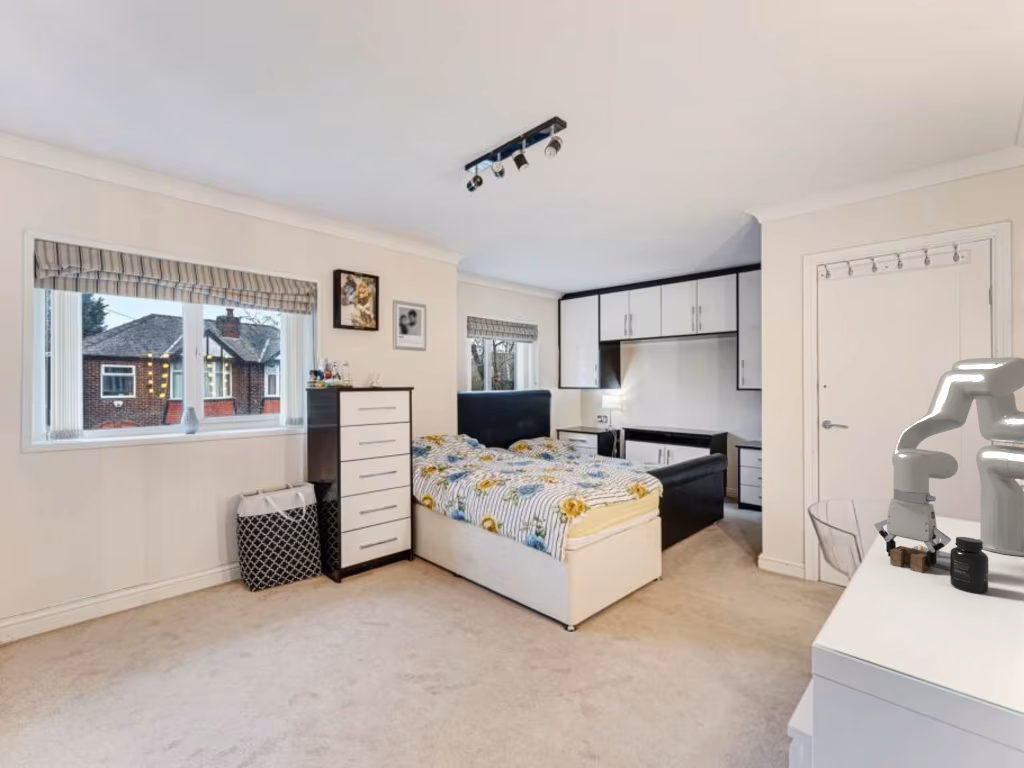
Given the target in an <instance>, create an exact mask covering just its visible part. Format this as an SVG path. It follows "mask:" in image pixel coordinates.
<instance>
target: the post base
mask: <svg viewBox="0 0 1024 768" xmlns="http://www.w3.org/2000/svg"><path fill="white" fill-rule="evenodd" d="M933 541H934V542H935V544H938V543H939V542H940V541H941V539H940V538H939V537H938V536H937V538H936V539H935V540H933ZM912 548H913V549H917V550H921V551H926V552H927V551H929V549H928V548H927V547H925V546H923V545H921V544H920V545H915V546H914V547H912ZM932 567H935V568H939V569H942V570H947V571H950V552H946V551H942V550H940V549H939V550H937V561H936V564H934V565H933V566H932Z"/></svg>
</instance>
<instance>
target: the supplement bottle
mask: <svg viewBox="0 0 1024 768" xmlns="http://www.w3.org/2000/svg"><path fill="white" fill-rule="evenodd" d="M978 539H979V538H978ZM978 539H977V538H973V537H967V536H956V537H955V542H954V544H955V547H953V548H952V549H950V552H949V553H950V570H949V572H950V576H949V577H950V580H949V581H950V584H951V586H952V587H953V588H956V589H958V590H961V591H964V592H969V593H972V594H973V593H974V594H986V593H988V592H989V557H988V554H987V553H985V552H984V551H983V550H984V549H983V542H982V541H980V540H978Z"/></svg>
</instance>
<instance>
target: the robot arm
mask: <svg viewBox="0 0 1024 768" xmlns="http://www.w3.org/2000/svg"><path fill="white" fill-rule="evenodd" d="M1022 388H1024V358H1023V357H1018V356H1017V357H1015V356H1013V357H1008V356H1007V357H981V358H979V357H978V358H967V359H960V360H958V361H956V362H954V363H953V364H952V366H951V369H950V370H949V371H945V372H944V373H943V374H941V376H940V378H939V380H938V383H937V385H936V387H935V391H934V392H933V396H932V399H931V401H930V404H929V406H928V410H927V412H926V414H925V415H924V416H922V417H921V418H919V419H917V420H915V421H914V422H913V423H911V424H910V425H909V426H908V427H906V428H905V429H904V430H903V431H902V432H901V434H900V435H899V437H898V439H897V441H896V444H895V446H894V449H893V454H892V457H891V458H892V459H891V463H892V465H893V498H891V499H890V502H889V505H888V510H887V517H886V519H884V520H882V521H879V522H876V523H874V524H873V525H874V528H876V531H878V533H879V535H880V536H881V537H882V538H883V540H884V541H885V542H886V543H885V545H886V549H885V551H886V553H887V556H888V557H889V558H890V550H892V549H894V548H896V547H897V545H896V543H897V542H896V541H895V538H896V537H900V538H904V539H908V540H913V541H917V542H923V544H924V545H925V546H926V548H928V549H929V551H927V566H929V567H931V566H932V567H934V566H933V565H934V564H936V561H937V550H939V549H943V548H944V547H946V546H947V544H949V543H950V542H951V541H952V539H951V538H950V537H949V536H948V535H946V534H945V533H944V532H942V531H941V530H939V528H938V527H937V520H936V519H937V518H936V517H937V516H936V511H935V509H934V504H932V503H930V502H936V496H934V495H933V496H932V495H931V492H930V479H938V480H946V479H949V478H952V477H954V476H955V475H956V474H957V472H958V469H959V463H958V461H957V459H956V458H955V456H953V455H952V454H950V453H947V452H943V451H937V450H930V449H929V450H928V449H920V448H918V447H919V445H920V444H921V443H922V442H923V441H924V440H926V439H928V438H930V437H933V436H934V435H938V434H942V433H944V432H948V431H952V430H955V429H958V428H961V427H963V426H964V425H965V424H966V422H967V418H968V416H969V413H970V410H971V407H972V405H973V401H974V400H975V404H976V412H977V413H976V414H977V421H978V428H979V432H980V434H981V437H982V438H983V439H985V440H987V441H992V442H998V443H1005V444H1007V443H1008V444H1018V445H1024V411H1019V410H1018V407H1017V404H1016V403H1017V401H1016V398H1015V397H1016V396H1015V394H1014V392H1016V391H1019V390H1020V389H1022ZM975 457H976V458H975V460H976V467H977V469H978V473H979V480H980V538H978V540H980V541H982V542H983V550H985V551H988V552H993V553H998V554H1002V555H1009V556H1017V557H1018V556H1019V557H1021V556H1022V557H1024V488H1022V486H1021V485H1020V484H1019V482H1018V481H1017V480H1023V481H1024V447H1020V446H1015V445H1014V446H1013V445H1003V444H989V445H985V446H982V447H981V448H980V449H978V451H977V452H976V456H975ZM884 526H886V530H885V528H884ZM937 536H938V537H939V538H940V542H939V543H938V544H935V542H934V541H933V540H935V539H936V538H937Z"/></svg>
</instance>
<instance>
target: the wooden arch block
mask: <svg viewBox="0 0 1024 768" xmlns="http://www.w3.org/2000/svg"><path fill="white" fill-rule="evenodd" d="M889 562H890V563H889V564H890V565H891V566H894V567H895V566H896V567H898V568H902V567H904V563H906V564H910V570H911V571H914V572H918V573H924V572H927V571H928V570H929V569H931V568H932V567H933V566H931V567H929V566H927V552H926V551H921V550H917V549H913V547H908V546H903V545H898V546H896V548H894V549H892V550H890V557H889Z"/></svg>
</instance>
